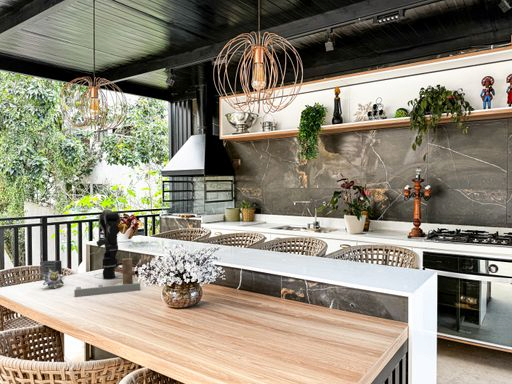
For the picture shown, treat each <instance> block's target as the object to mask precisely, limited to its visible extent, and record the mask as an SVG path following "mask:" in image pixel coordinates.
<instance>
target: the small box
mask: <svg viewBox="0 0 512 384" xmlns="http://www.w3.org/2000/svg"><path fill="white" fill-rule="evenodd" d="M39 263H40V280H43V279H42V277H41V275H42V276H43V274H45V275H46V274H47V273H48V272H49V270H51V271H53V272H56V271H58V273H59V275H61V274H62V275H63V270H62V269H63V268H62V266H63V265H62V260H44V261H41V262H39ZM43 278H44V277H43Z"/></svg>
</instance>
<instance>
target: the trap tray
mask: <svg viewBox="0 0 512 384" xmlns="http://www.w3.org/2000/svg"><path fill="white" fill-rule="evenodd" d="M138 281H139V280H138ZM138 281H135V280H134V281H133V284H125V285H123V282H118V283H117V282H116V284H115V285H108V286H107V285H105V286H103V284H98V286H97V287H86V288H85V287H84V288H81V286H77V287H76V288H75V289H74V292H73V293H74V295H73V296H74V297H75V298H77V297H88V296H96V295H97V296H98V295H105V294H114V293H115V294H118V293H124V292H134V291H141V283H140V282H139V283H138Z"/></svg>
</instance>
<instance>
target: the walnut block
mask: <svg viewBox="0 0 512 384" xmlns="http://www.w3.org/2000/svg"><path fill="white" fill-rule="evenodd" d="M121 263H122V264H121V267H122V268H121V269H122V283H123V285H125V284H133V282H134V281H133V279H134V278H133V275H134V274H133V258H132V257H128V258H127V257H126V258H122V262H121Z"/></svg>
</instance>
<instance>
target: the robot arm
mask: <svg viewBox="0 0 512 384" xmlns="http://www.w3.org/2000/svg"><path fill="white" fill-rule="evenodd" d="M98 224H99V226H100V229H101V230H102V233H103V238H100V239H98V240H97V241H96V245H97V247H98V248H100V247H102V246H104V253H103V256H102V259H101V269H102V278H103V280H105V279H106V280H108V279H115V278H116V270H115V269H116V268H118V264H119V263H118V262H119V260H118V258H117V257H116V256H117V253H118V251H119V242H118V234H120V227H119V226H118V225H119V224H121V216H120V214H119V213H118V212H117V211H112V209H104V210H102V213H101V214H99V217H98Z"/></svg>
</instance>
